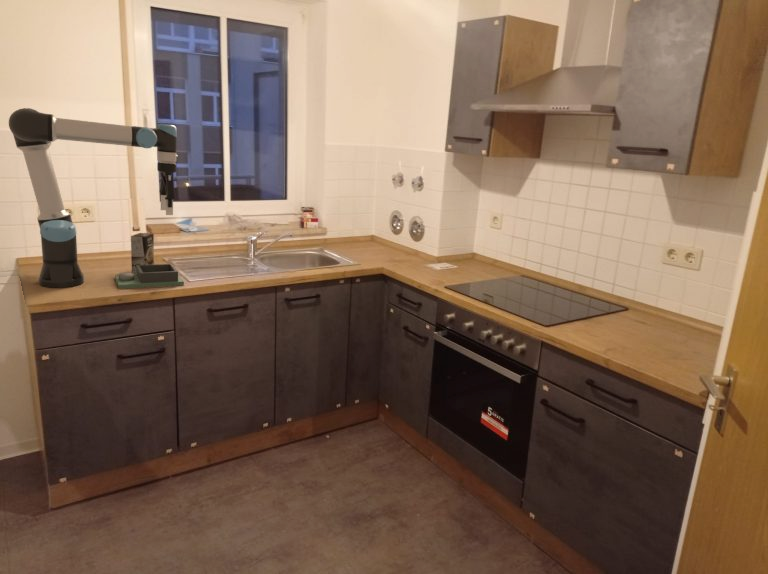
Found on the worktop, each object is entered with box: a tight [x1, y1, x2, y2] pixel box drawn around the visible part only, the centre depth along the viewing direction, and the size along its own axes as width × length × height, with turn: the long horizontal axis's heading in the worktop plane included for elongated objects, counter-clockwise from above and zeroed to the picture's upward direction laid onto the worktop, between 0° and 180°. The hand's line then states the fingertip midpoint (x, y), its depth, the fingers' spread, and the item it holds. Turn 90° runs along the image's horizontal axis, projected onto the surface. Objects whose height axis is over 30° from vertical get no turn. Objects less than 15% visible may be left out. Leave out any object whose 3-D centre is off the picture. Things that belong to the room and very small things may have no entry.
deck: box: [114, 263, 185, 290], centre depth 232 cm, size 24×16×6 cm, turn 119°
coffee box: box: [130, 232, 155, 274], centre depth 245 cm, size 9×6×16 cm
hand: (166, 212), depth 246 cm, fingers open, 13 cm apart
